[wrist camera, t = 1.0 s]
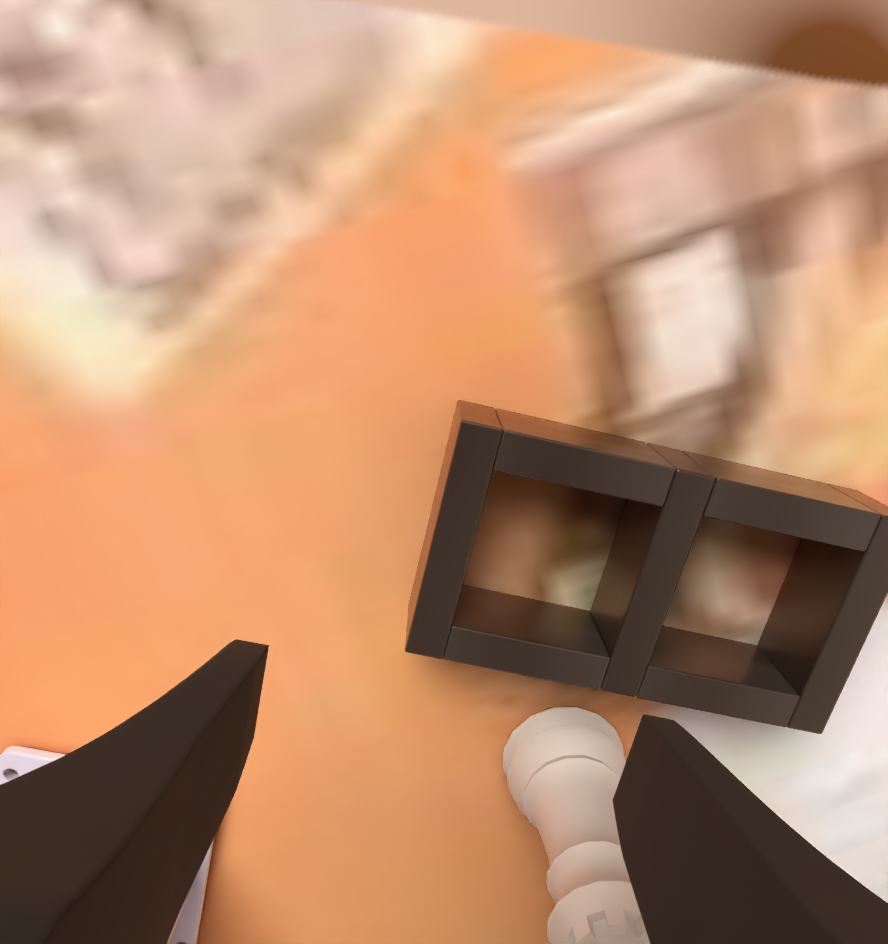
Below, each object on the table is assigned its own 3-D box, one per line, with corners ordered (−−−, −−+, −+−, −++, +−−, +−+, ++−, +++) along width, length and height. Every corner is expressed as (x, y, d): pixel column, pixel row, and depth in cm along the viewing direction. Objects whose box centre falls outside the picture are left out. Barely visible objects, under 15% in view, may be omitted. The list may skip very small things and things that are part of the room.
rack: (858, 490, 22) (921, 523, 19) (776, 679, 24) (822, 735, 21) (457, 399, 21) (461, 419, 18) (408, 605, 23) (404, 652, 20)
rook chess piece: (642, 761, 25) (732, 977, 17) (542, 816, 26) (586, 1047, 18) (580, 677, 24) (647, 867, 16) (477, 737, 25) (495, 947, 17)
